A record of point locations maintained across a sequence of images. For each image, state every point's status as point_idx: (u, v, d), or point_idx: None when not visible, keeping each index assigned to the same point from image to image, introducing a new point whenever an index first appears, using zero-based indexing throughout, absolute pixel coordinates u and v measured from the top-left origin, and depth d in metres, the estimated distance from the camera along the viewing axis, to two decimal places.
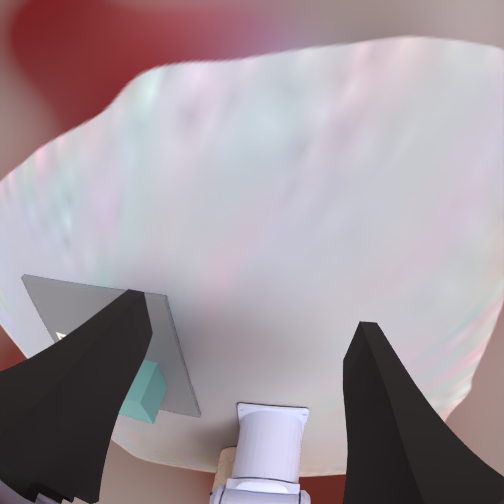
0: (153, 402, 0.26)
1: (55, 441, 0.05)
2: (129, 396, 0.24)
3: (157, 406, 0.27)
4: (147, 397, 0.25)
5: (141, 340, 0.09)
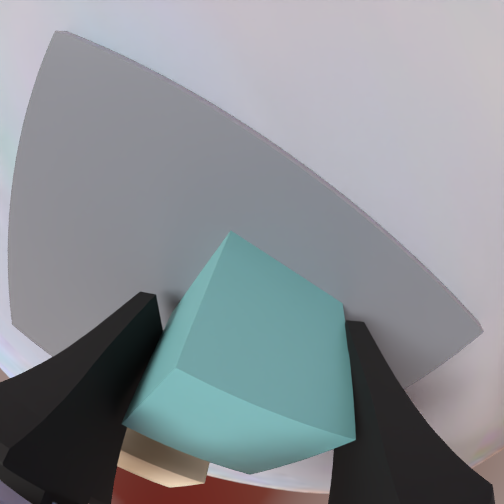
0: (297, 357, 0.07)
1: (70, 449, 0.05)
2: (158, 379, 0.06)
3: (337, 368, 0.07)
4: (236, 342, 0.06)
5: (153, 343, 0.09)
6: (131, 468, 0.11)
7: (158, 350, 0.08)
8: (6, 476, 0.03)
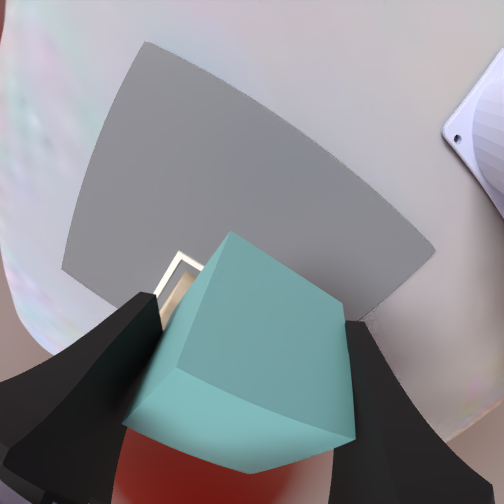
0: (297, 357, 0.07)
1: (70, 449, 0.05)
2: (157, 378, 0.06)
3: (337, 368, 0.07)
4: (236, 342, 0.06)
5: (153, 343, 0.09)
6: None
7: (158, 350, 0.08)
8: (6, 476, 0.03)
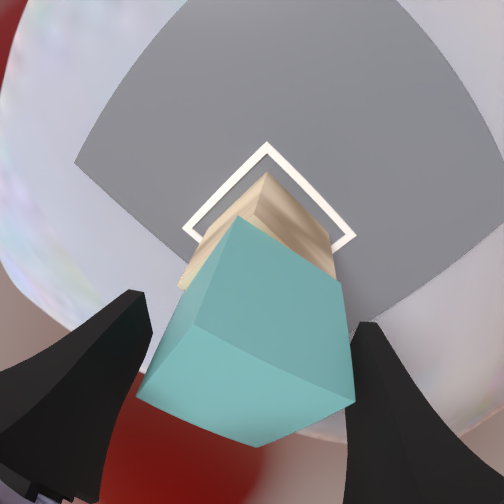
0: (299, 324, 0.08)
1: (55, 441, 0.05)
2: (174, 342, 0.07)
3: (336, 337, 0.08)
4: (245, 307, 0.07)
5: (141, 340, 0.09)
6: None
7: (171, 326, 0.09)
8: None
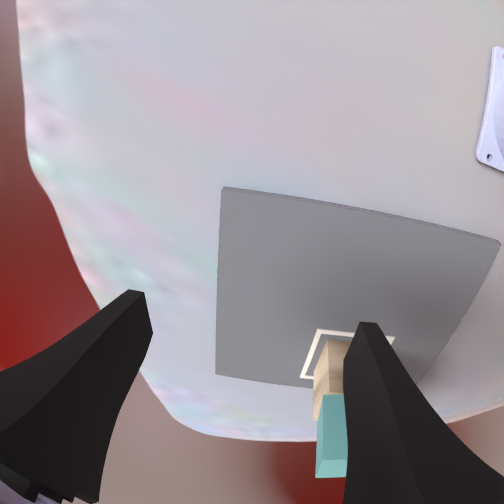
0: None
1: (55, 441, 0.05)
2: (320, 461, 0.15)
3: None
4: (338, 442, 0.15)
5: (141, 340, 0.09)
6: None
7: (318, 445, 0.18)
8: None
